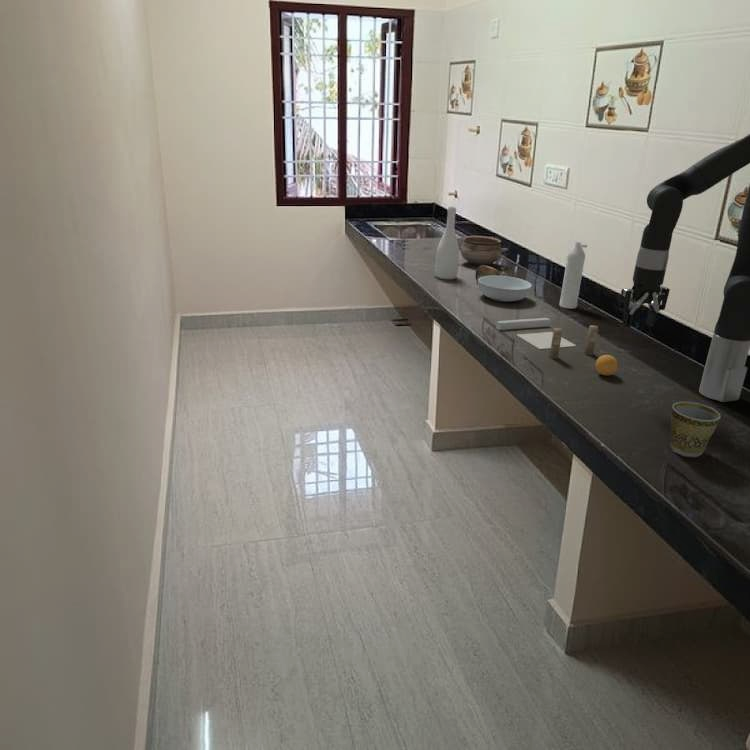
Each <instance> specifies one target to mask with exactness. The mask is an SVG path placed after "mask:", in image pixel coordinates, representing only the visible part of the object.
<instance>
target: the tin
mask: <svg viewBox="0 0 750 750" xmlns="http://www.w3.org/2000/svg"><path fill="white" fill-rule="evenodd" d="M492 275H497V276H501V273H500V271H499V269H496V268H494V267H491V266H490V265H489V266H488V265H487V266H486V265H480V266H479V267H477V268H476V271H475V280H476V283H477V284H478V279H479V278H480V277H483V276H492Z"/></svg>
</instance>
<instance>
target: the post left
mask: <svg viewBox="0 0 750 750" xmlns="http://www.w3.org/2000/svg"><path fill="white" fill-rule="evenodd" d="M552 332H553V337H552V343H551V349H549V356H548V357H549V358H550V359H554V360H555V359H558V358H559V354H560V349H561V348H560V343H561V337H562V336H563V329H562V328H560V327H555V328H553V331H552ZM562 338H563V337H562Z"/></svg>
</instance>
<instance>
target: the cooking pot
mask: <svg viewBox="0 0 750 750" xmlns="http://www.w3.org/2000/svg"><path fill="white" fill-rule="evenodd" d="M462 238H463V241H462V244H461V246H459V245H458V247H459V252H460V255H461V256H462V258H463V260H464V261H466V262H468V263H469V264H471V266H473V267H477V268H478V267H479V266H480V265H486V266H488V265H489V266H490V265H491V264H494V263H495V262H496V261H498V260H499V259H500V256H501V254H503V253H504V252H506V251H508V250H509V249H508V248H507V247H504V248H502V247H501V244H500V243H501V242H502V240H501V239H500V238H496V237H492V236H484V235H467V236H464V237H462Z"/></svg>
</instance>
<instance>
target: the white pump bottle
mask: <svg viewBox="0 0 750 750" xmlns="http://www.w3.org/2000/svg"><path fill="white" fill-rule="evenodd" d="M583 248H584V249H585V248H588V244H586V243H583V242H581V241H575V242H574V245H573V247H572V248H571V249H570V250H569V251H568V252H567V256H566V263H565V269H564V275H563V280H562V285H561V288H562V289H561V294H560V299H559V306H560V308H563V309H570V310H571V309H572V310H573V309H576V308H577V306H578V300H579V295H580V288H581V287H580V286H581V281H582V276H583V271H584V266H585V259H586V252H585V251H584V249H583Z"/></svg>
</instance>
